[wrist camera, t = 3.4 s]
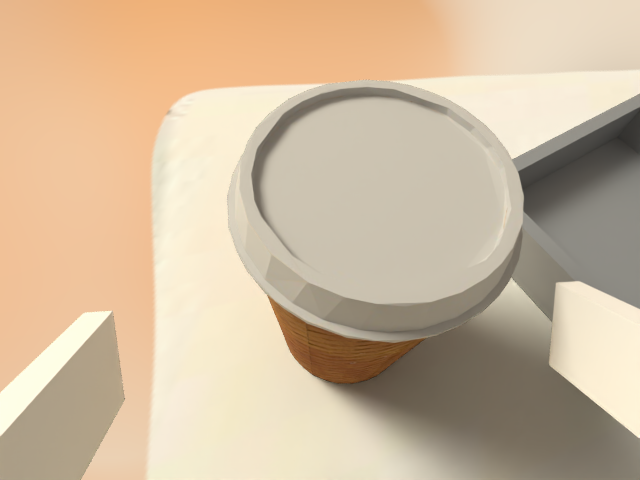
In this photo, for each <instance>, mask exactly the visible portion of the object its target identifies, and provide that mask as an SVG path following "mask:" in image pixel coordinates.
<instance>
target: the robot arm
mask: <svg viewBox="0 0 640 480" xmlns="http://www.w3.org/2000/svg"><path fill="white" fill-rule="evenodd" d="M549 365H550V366H551V367H552V368H553V369H555V370H556V371H557V372H558V373H559V374H561V375H562V376H563V377H564V378H566V379H567V380H568V381H569V382H571V383H572V384H573V385H574V386H575V387H577V388H578V389H579V390H580V391H582V392H583V393H584V394H585V395H587V396H588V397H589V398H590V399H591V400H593V401H594V402H595V403H596V404H598V405H599V406H600V407H601V408H603V409H604V410H605V411H606V412H607V413H609V414H610V415H611V416H612V417H614V418H615V419H616V420H617V421H618V422H620V423H621V424H622V425H623V426H625V427H626V428H627V429H628V430H630V431H631V432H632V433H633V434H634V435H636V436H637V437H638V438H639V439H640V309H638V308H636V307H634V306H632V305H630V304H627V303H625V302H623V301H621V300H619V299H617V298H615V297H612V296H610V295H608V294H606V293H604V292H602V291H599V290H597V289H595V288H593V287H591V286H589V285H587V284H584V283H582V282H580V281H574V282H558V283H556V288H555V299H554V310H553V321H552V333H551V344H550V355H549ZM124 400H125V398H124V390H123V383H122V375H121V368H120V361H119V353H118V346H117V338H116V331H115V324H114V316H113V311H103V312H89V313H84V314H82V315H81V316H80V317H79V318H78V319H77V320H76V321H75V322H74V323H73V324H72V325H71V326H70V327H69V328H68V329H67V330H66V331H65V332H63V333H62V334H61V335H60V336H59V337H58V338H57V339H56V340H55V341H54V342H53V343H52V344H51V345H50V346H49V347H48V348H47V349H46V350H45V351H43V352H42V353H41V354H40V356H38V357H37V358H36V359H35V360H34V361H33V362H32V363H31V364H30V365H29V366H28V367H27V368H26V369H25V370H24V371H23V372H21V374H20V375H18V376H17V377H16V378H15V379H14V380H13V381H12V382H11V383H10V384H9V385H8V386H7V387H6V388H5V389H4V390H3V391H2V392H0V480H81V478H82V476H83V475H84V473H85V471H86V469H87V467H88V466H89V464H90V462H91V460H92V458H93V457H94V455H95V453H96V451H97V449H98V448H99V446H100V444H101V442H102V440H103V438H104V436H105V435H106V433H107V431H108V429H109V427H110V426H111V424H112V422H113V420H114V418H115V417H116V415H117V413H118V411H119V409H120V407H121V406H122V404H123V402H124Z"/></svg>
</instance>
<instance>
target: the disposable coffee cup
mask: <svg viewBox="0 0 640 480" xmlns="http://www.w3.org/2000/svg"><path fill="white" fill-rule="evenodd" d="M523 202H524V195H523V191H522V186H521V182H520V177H519V173H518V171H517V169H516V167H515V165H514V163H513V161H512V159H511V157H510V155H509V153H508V151H507V150H506V149H505V147H504V146H503V145H502V143H501V142H500V141H499V140H498V138H497V137H496V136H495V134H494V133H493V132H492V131H491V130H490V129H489V128H488V127H487V126H486V125H485V124H484V123H482V122H481V121H480V120H478V119H477V118H476V117H474V116H473V115H472V114H471V113H469V112H468V111H467V110H465V109H464V108H462V107H460V106H458V105H457V104H455V103H453V102H451V101H450V100H448V99H446V98H444V97H442V96H439V95H437V94H434V93H432V92H429V91H426V90H423V89H420V88H417V87H413V86H410V85H406V84H400V83H395V82H389V81H375V80H359V81H350V82H341V83H332V84H326V85H323V86H319V87H316V88H313V89H310V90H307V91H305V92H303V93H300V94H298V95H296V96H294V97H292V98H289V99H288V100H287V101H285V102H284V103H283V104H281V105H280V106H279V107H277V108H276V109H275V110H273V111H272V112H271V113H269V114H268V115H267V116H266V117H265V119H264V120H263V121H262V122H261V123H260V124H259V125H258V126H257V127H256V129H255V131H254V132H253V134H252V135H251V137H250V139H249V140H248V142H247V145H246V148H245V151H244V153H243V155H242V156H241V158H240V160H239V162H238V164H237V166H236V168H235V170H234V172H233V175H232V179H231V183H230V187H229V191H228V195H227V205H228V226H229V230H230V233H231V236H232V239H233V242H234V245H235V248H236V251H237V253H238V255H239V257H240V259H241V261H242V262H243V264H244V266H245V268H246V270H247V272H248V273H249V274H250V275H251V276H252V278H253V279H254V280H255V281H256V283H257V284H258V285H259V286H260V287H261V289H262V290H263V291H264V292H265V293H266V294H267V296H268V298H269V300H270V303H271V305H272V308H273V310H274V313H275V315H276V318H277V320H278V322H279V325H280V327H281V330H282V332H283V335H284V337H285V340H286V343H287V345H288V347H289V349H290V352H291V353H292V355H293V356H294V358H295V359H296V360H297V361H298V362H299V363H300V364H301V365H302V366H303V368H305V369H306V370H307V371H309V372H310V373H311V374H312V375H315V376H317V377H319V378H322V379H324V380H327V381H330V382H335V383H350V384H352V383H357V382H361V381H365V380H368V379H371V378H373V377H375V376H377V375H378V374H380V373H381V372H383V371H384V370H385V369H386V368H387V367H389V366H390V365H391V364H393V363H394V362H395V361H397V360H398V359H399V358H400V357H402V356H403V355H404V354H406V353H407V352H408V351H410V350H411V349H412V348H414V347H415V346H416V345H418V344H419V343H420V342H422V341H423V340H424V339H426V338H427V337H433V336H436V335H438V334H441V333H443V332H446V331H448V330H451V329H453V328H456V327H458V326H460V325H462V324H464V323H465V322H467V321H468V320H470V319H472V318H473V317H475V316H477V315H478V314H480V313H481V312H483V311H484V310H485V309H486V308H487V307H488V306H489V305H490V304H491V303H492V302H493V301H494V300H495V299H496V298H497V297H498V296H499V295H500V293H501V292H502V291H503V289H504V288H505V286H506V285H507V284H508V282H509V281H510V278H511V276H512V274H513V272H514V270H515V268H516V266H517V263H518V261H519V256H520V251H521V245H522V239H523V232H522V224H523Z"/></svg>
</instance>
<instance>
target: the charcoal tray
mask: <svg viewBox="0 0 640 480" xmlns="http://www.w3.org/2000/svg"><path fill="white" fill-rule="evenodd" d="M512 161H513V163H514V165H515V167H516V169H517V171H518V173H519V177H520V182H521V186H522V191H523V195H524V202H523V224H522V232H523V239H522V245H521V251H520V256H519V261H518V263H517V266H516V268H515V270H514V272H513V274H512V276H511V277H512V278H513V279H514V281H515V282H516V283H517V284H518V285H519V286H520V287H521V288H522V289H523V290H524V292H525V293H526V294H527V295H528V296H529V297H530V298H531V299H532V300H533V301H534V302H535V304H536V305H537V306H538V307H539V308H540V309H541V310H542V311H543V312H544V313H545V315H546V316H547V317H548V318H549V319H550V320H551V321H553V310H554V299H555V288H556V283H558V282H574V281H580V282H582V283H584V284H587V285H589V286H591V287H593V288H595V289H597V290H599V291H602V292H604V293H606V294H608V295H610V296H612V297H615V298H617V299H619V300H621V301H623V302H625V303H627V304H630V305H632V306H634V307H636V308H638V309H640V94H638V95H636V96H635V97H633V98H631V99H629V100H627V101H625V102H623V103H621V104H619V105H617V106H615V107H613V108H611V109H609V110H607V111H605V112H604V113H602V114H600V115H598V116H596V117H594V118H592V119H590V120H588V121H586V122H584V123H582V124H580V125H578V126H576V127H574V128H572V129H571V130H569V131H567V132H565V133H563V134H561V135H559V136H557V137H555V138H553V139H551V140H549V141H547V142H545V143H543V144H541V145H540V146H538V147H536V148H534V149H532V150H530V151H528V152H526V153H524V154H522V155H520V156H518V157H516V158H514V159H512Z"/></svg>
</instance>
